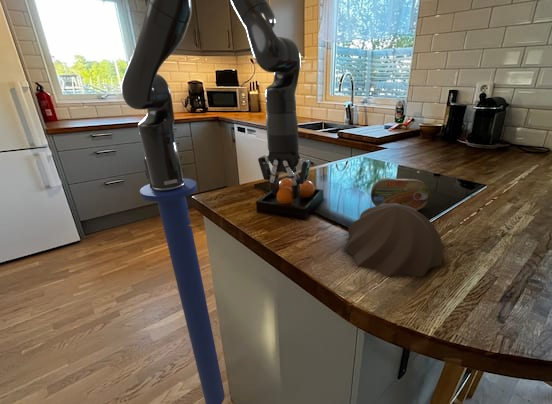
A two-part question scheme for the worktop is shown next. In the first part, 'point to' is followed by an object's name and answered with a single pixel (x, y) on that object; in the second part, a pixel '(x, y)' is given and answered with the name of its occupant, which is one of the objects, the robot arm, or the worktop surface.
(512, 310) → the worktop surface
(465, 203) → the worktop surface
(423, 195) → the tin
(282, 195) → the clementine
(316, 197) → the tray
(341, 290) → the worktop surface
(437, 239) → the decorative dome
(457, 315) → the worktop surface
